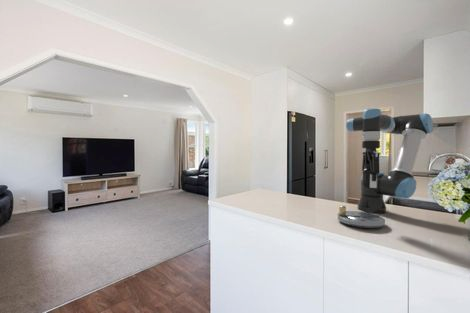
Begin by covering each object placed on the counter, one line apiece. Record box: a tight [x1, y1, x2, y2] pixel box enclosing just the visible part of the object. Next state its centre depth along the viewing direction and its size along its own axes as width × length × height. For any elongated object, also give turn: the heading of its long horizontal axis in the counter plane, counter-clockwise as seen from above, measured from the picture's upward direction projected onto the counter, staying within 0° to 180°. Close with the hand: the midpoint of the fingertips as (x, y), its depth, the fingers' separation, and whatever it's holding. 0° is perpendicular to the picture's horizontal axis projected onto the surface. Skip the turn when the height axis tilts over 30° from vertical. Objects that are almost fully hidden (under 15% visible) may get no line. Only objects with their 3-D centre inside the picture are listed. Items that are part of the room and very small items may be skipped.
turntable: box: [337, 205, 386, 229], centre depth 114 cm, size 21×21×7 cm
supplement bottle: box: [361, 163, 378, 188], centre depth 112 cm, size 7×7×12 cm
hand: (369, 186), depth 112 cm, fingers closed on supplement bottle, 7 cm apart
